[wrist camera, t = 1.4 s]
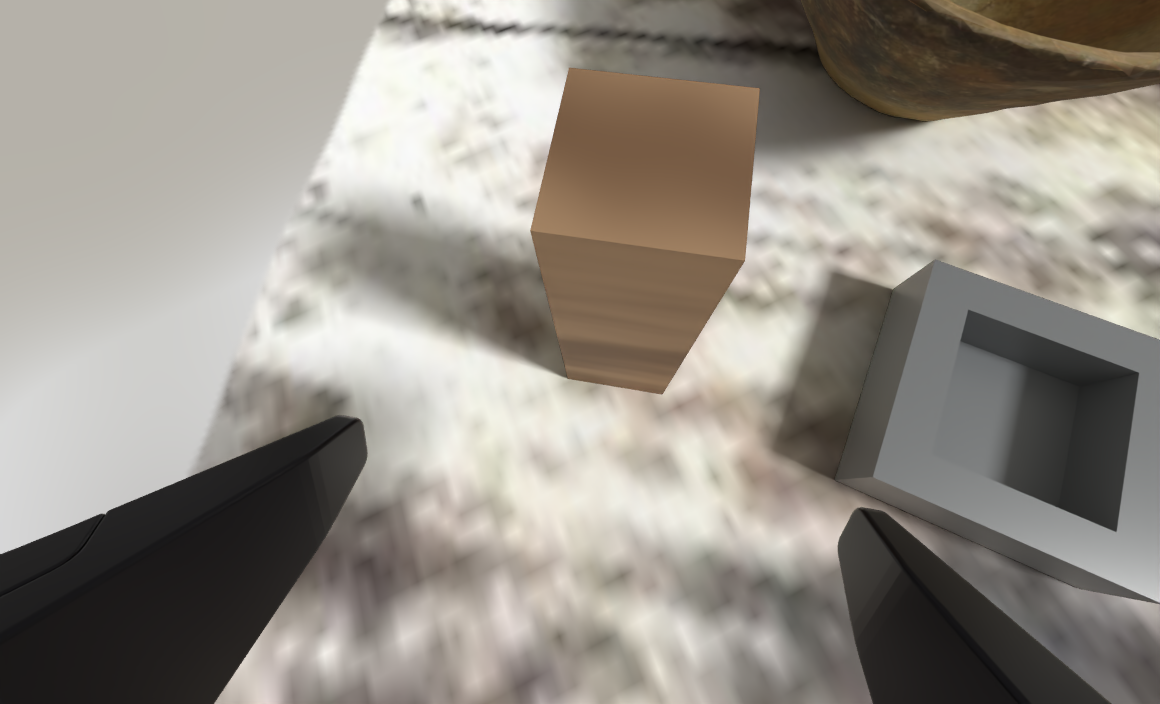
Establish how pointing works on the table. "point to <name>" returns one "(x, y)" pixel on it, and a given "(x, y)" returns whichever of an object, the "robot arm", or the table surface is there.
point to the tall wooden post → (642, 219)
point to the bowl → (984, 52)
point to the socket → (1016, 429)
